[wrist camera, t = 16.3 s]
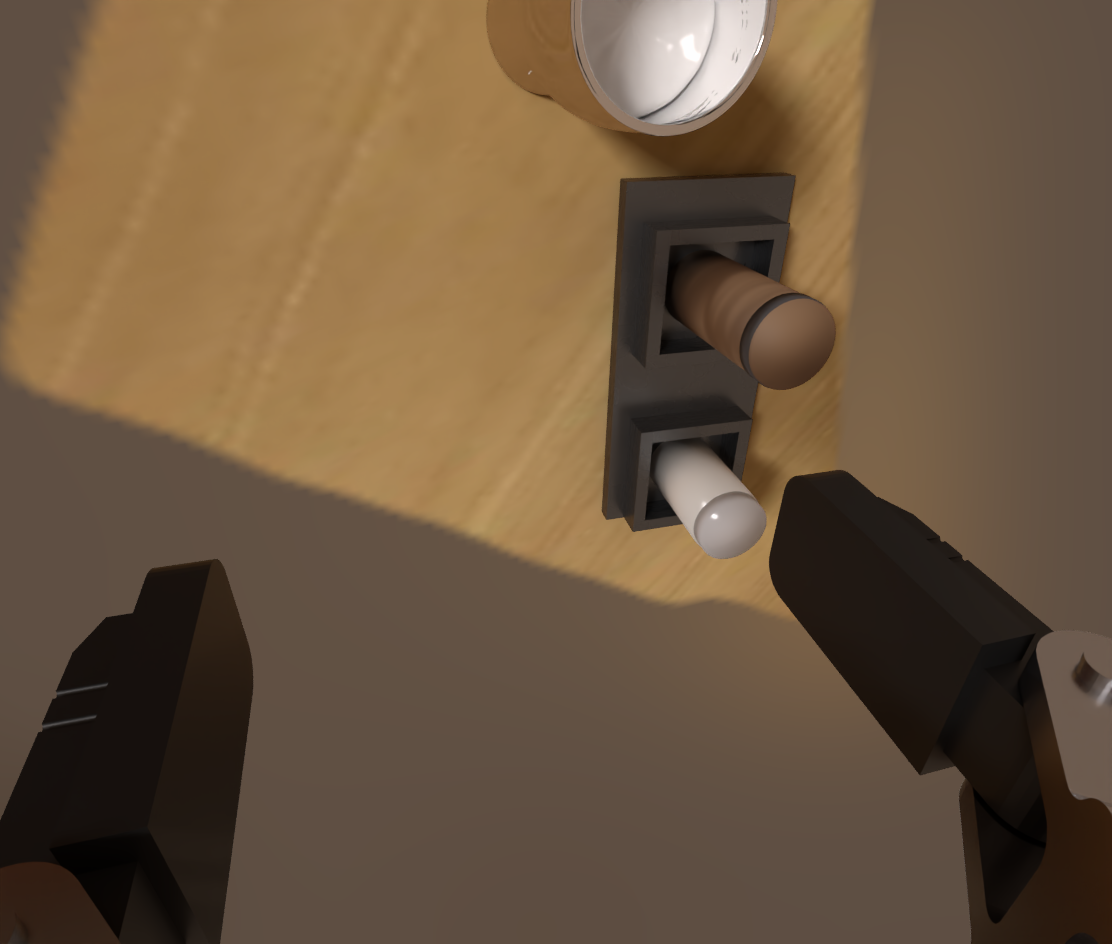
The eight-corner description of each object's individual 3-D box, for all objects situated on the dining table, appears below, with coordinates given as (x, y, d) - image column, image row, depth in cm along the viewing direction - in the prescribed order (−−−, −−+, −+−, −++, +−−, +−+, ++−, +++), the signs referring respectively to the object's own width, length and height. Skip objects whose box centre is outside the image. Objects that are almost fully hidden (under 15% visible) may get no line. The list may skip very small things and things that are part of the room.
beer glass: (467, -69, 30) (557, -142, 18) (619, -74, 31) (801, -145, 19) (484, 111, 34) (568, 153, 21) (619, 99, 35) (770, 134, 23)
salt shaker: (651, 437, 45) (703, 505, 39) (712, 429, 46) (773, 494, 40) (646, 492, 48) (694, 565, 41) (704, 484, 49) (761, 553, 42)
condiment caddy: (620, 178, 37) (640, 188, 35) (786, 172, 39) (815, 181, 37) (601, 511, 49) (615, 536, 46) (730, 492, 51) (749, 515, 49)
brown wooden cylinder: (669, 248, 39) (761, 299, 31) (740, 248, 40) (847, 297, 32) (658, 326, 41) (741, 393, 33) (725, 324, 42) (822, 388, 34)
